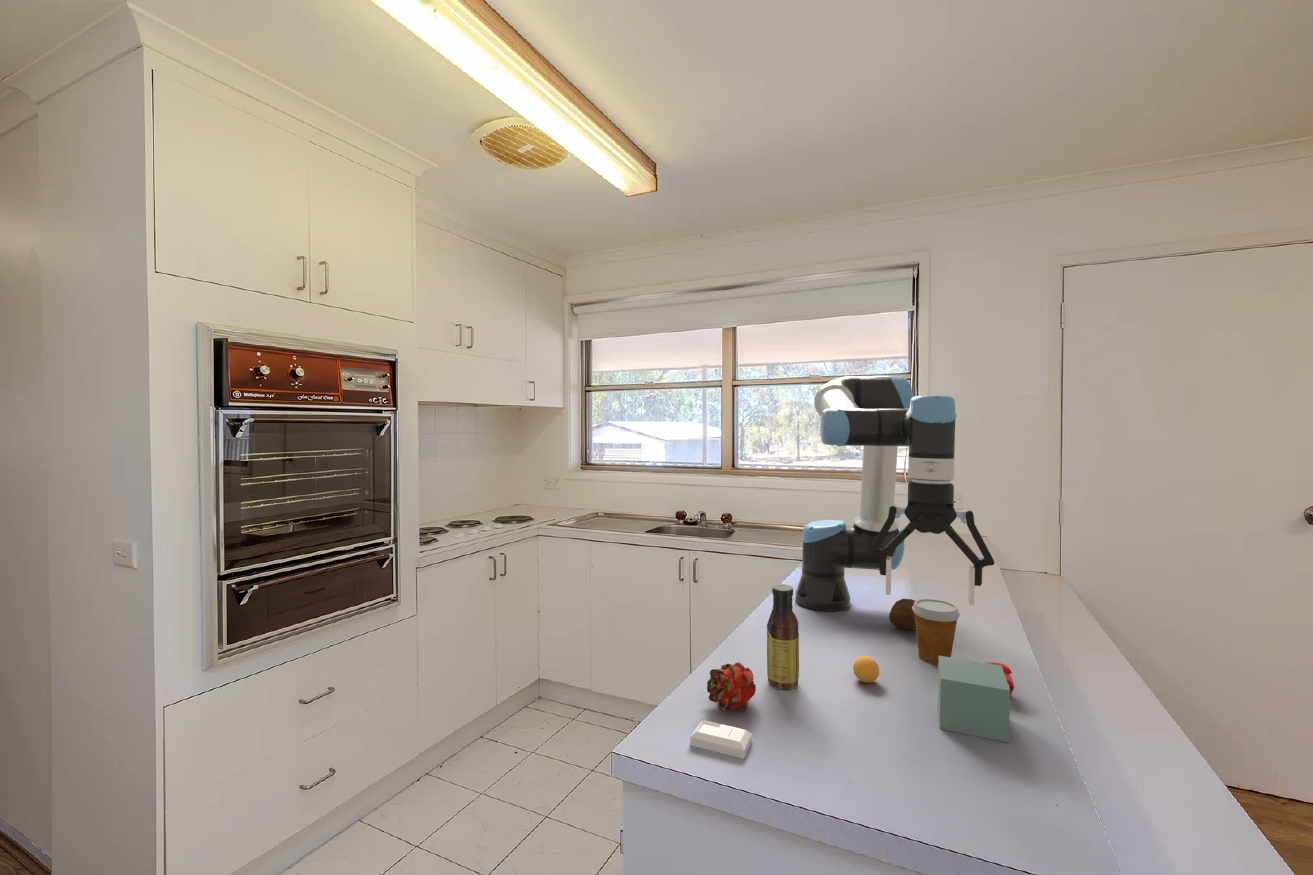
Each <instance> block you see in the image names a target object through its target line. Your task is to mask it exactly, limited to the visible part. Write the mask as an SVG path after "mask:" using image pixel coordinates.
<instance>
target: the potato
mask: <svg viewBox="0 0 1313 875" xmlns="http://www.w3.org/2000/svg"><path fill="white" fill-rule="evenodd" d="M915 601H916V600H915V599H911V598H901V599H899V600H897V601H895V602H894V604H893V605H892V607H891V609H890V611H889V614H888V615H889V617H888V619H889V622H890V624H891V625H892V626H893V627H894V628H896V629H900V630H905V631H913V630H916V625H915V615H914V612H913V610H912V606H913V605H914V602H915Z"/></svg>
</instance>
